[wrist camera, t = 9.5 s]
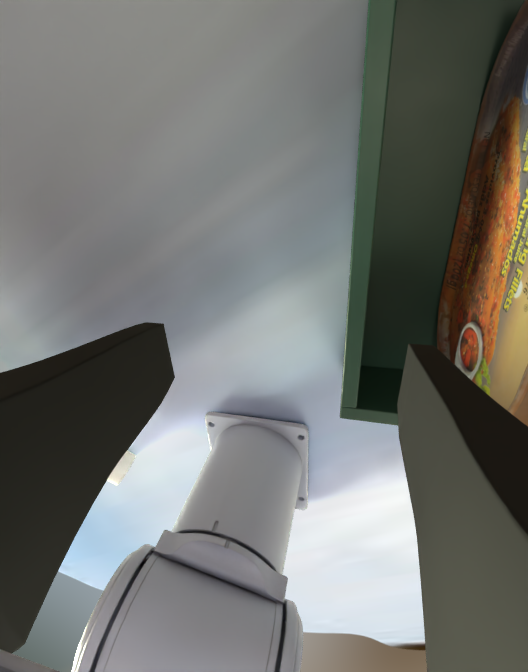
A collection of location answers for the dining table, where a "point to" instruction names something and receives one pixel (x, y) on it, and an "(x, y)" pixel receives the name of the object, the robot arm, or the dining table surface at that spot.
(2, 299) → the dining table surface
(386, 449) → the dining table surface
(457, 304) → the tin
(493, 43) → the tote
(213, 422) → the robot arm
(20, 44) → the dining table surface
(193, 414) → the dining table surface
